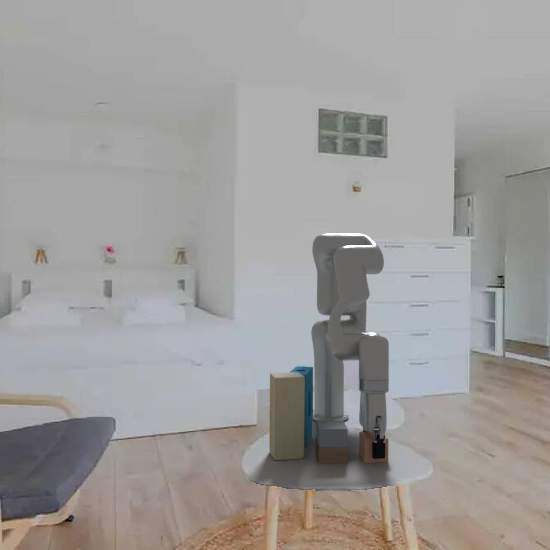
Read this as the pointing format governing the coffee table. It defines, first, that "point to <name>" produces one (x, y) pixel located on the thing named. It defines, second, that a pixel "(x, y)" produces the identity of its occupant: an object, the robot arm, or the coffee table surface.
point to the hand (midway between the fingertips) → (373, 451)
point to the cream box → (287, 415)
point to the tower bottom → (331, 455)
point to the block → (307, 401)
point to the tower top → (332, 434)
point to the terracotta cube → (370, 448)
